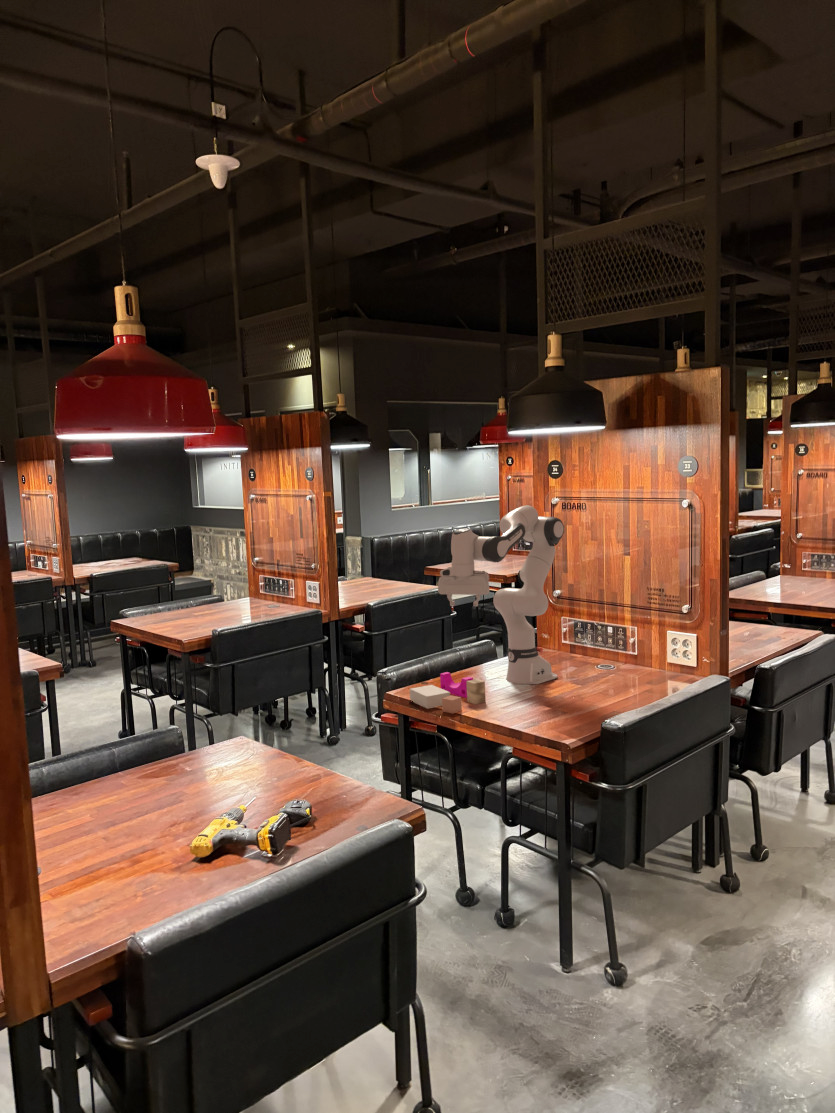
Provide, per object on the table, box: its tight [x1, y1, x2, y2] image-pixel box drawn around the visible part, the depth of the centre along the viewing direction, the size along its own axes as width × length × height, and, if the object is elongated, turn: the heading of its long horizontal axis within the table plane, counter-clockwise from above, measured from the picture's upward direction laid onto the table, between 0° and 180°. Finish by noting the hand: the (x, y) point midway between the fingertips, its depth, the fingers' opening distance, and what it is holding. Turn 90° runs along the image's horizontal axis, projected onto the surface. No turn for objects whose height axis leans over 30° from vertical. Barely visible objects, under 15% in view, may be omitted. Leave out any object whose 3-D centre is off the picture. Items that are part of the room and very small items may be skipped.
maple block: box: [466, 678, 487, 705], centre depth 305 cm, size 5×5×8 cm
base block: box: [409, 684, 451, 709], centre depth 307 cm, size 10×14×5 cm
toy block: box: [439, 671, 474, 699], centre depth 318 cm, size 15×6×8 cm, turn 41°
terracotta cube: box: [441, 694, 463, 714], centre depth 294 cm, size 5×5×5 cm
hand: (464, 606), depth 311 cm, fingers open, 8 cm apart
